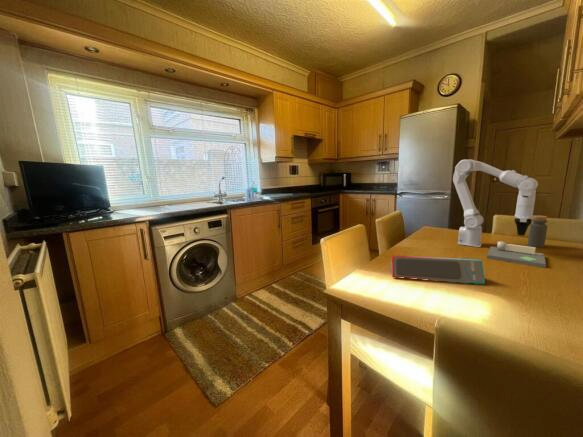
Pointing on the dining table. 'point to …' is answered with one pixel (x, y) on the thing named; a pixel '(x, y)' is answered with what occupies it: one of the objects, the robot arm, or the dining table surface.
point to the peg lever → (516, 248)
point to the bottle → (538, 232)
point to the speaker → (438, 269)
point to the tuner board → (517, 257)
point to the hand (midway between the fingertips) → (520, 234)
